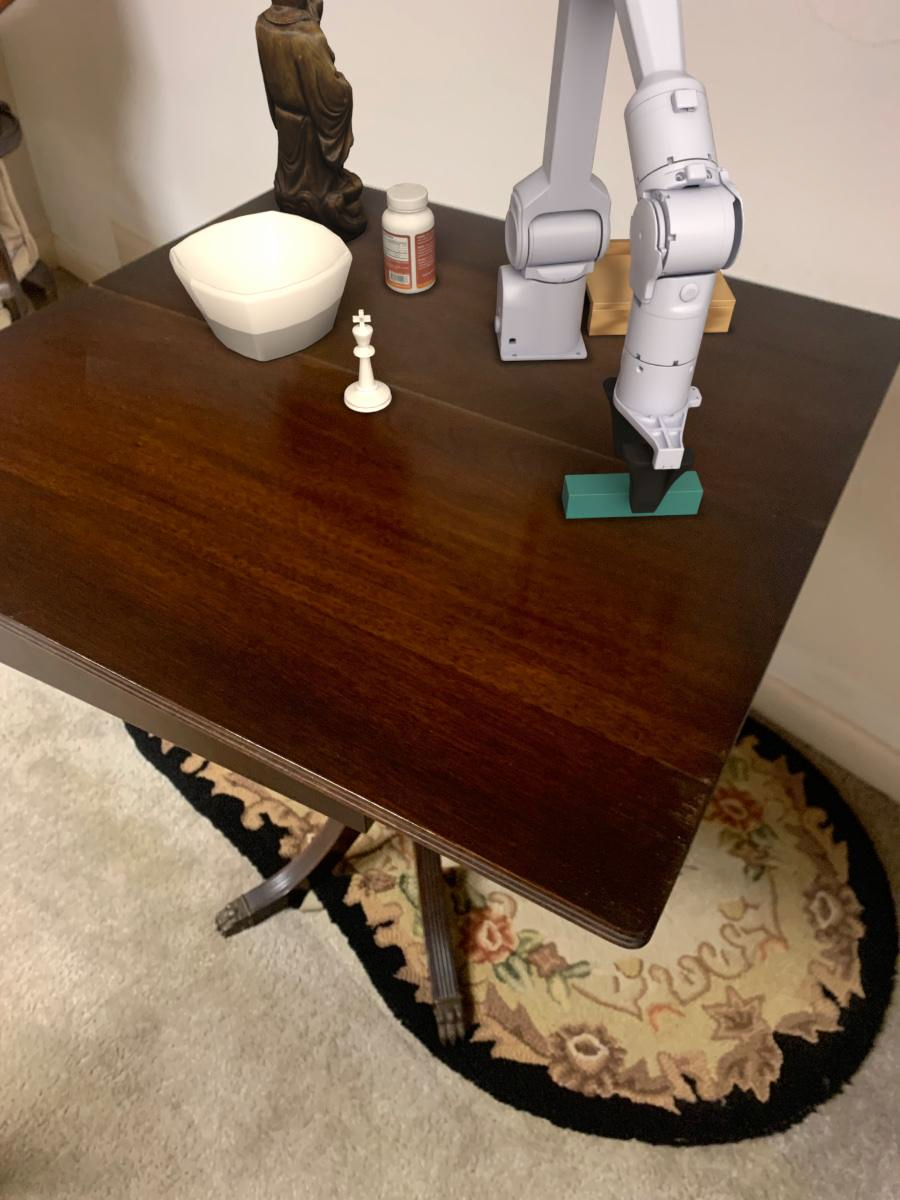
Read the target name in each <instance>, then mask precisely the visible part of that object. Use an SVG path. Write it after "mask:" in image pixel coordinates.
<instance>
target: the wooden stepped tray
mask: <svg viewBox="0 0 900 1200" xmlns="http://www.w3.org/2000/svg"><path fill="white" fill-rule="evenodd" d="M630 263H631V251H630V238H610V243H609V247H608V250H607V252H606V254H605V255H604V257H603V259H602V260H601V261H600V262H594V269H593V272H592V273H587V280H586V288H585V291H586V293H587V297H588V299H589V303H590V304H589V311H588V318H587V327H586V330H587V334H588V336H623V335H624V336H626V332H627V326H628V320H629V314H630V308H631V303H632V297H633V290H632V289H631V287H630V285H629V270H630ZM716 273H717V278H716V282H715V286H714V290H713V294H712V299H711V303H710V306H709V311H708V315H707V319H706V323H705V328H704V332H703V334H704V333H728V331H729V328H730V324H731V321H732V317H733V312H734V309H735V305H736V301H737V300H736V298H735V295H734V294H733V291H732V290H731V288H730V285H729V284H728V283H727V281H726V279H725V277H724V275H723V274H722V271H721V269H720V270H719V271H716Z"/></svg>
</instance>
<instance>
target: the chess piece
mask: <svg viewBox="0 0 900 1200" xmlns="http://www.w3.org/2000/svg"><path fill="white" fill-rule="evenodd" d="M352 322H353V323H359V324H356V325H354V326H353V328H352V330H351V331H352V335H353V337H354V338H355V341H356V344H357V345H356V346H355V347H354V348H353V354H354V356H355V357H357V358H359V369H358V381H355V382H353V383H350V385H348V386H347V387H346V389H345V391H344V392H343V393H344V394H343V395H344V397H343V402H344V404H345V405H346V407H348V408H349V409H351V410H353V411H355V412H360V413H373V412H378V411H380V410H383V409H385V408H386V407H387V406H389V405H390V404H391V401H392V394H391V389H390V388H389V386H388V385H387V384H386V383H384V382H382V381H380V380H376V379H375V377H374V372H373V368H372V363H371V358H370V357H372V356H374V355H375V353H376V350H375V347H374V346H373V345H371V344H370V343H371V340H372V339H371V338H372V337H373V336H372V335H373V332H374V329H373V327H372V326H371V325H370V324H368V323H370V322H372V321H371V315H370V314H365V315H364V309H358V315H352Z"/></svg>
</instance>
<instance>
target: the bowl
mask: <svg viewBox="0 0 900 1200" xmlns="http://www.w3.org/2000/svg"><path fill="white" fill-rule="evenodd" d="M168 256H169V261H170V263H171V267H172V268H173V271H174V273H175V275H176V276H177V278H178V279H179V281H180V282H181V284H182V285H183V287H184V289H185V291H186V292H187V294H188V295H189V297H190V298H191V300H192V301H193V303H194V305H195V307H197V309H198V311H199V312H200V313H201V315H202V317H203V318H204V320H205V322H206V323H207V325H208V326H209V328H210V329H211V331H212V332H213V334H214V336H215V337H216V338H217V339H218V341H220V342H221V343H222V344H223V345H224V346H225V348H227V349H230V350H231V351H233V352H236V353H237V354H240V355H242V356H244V357H246V358H249V359H253V360H256V361H258V362H269V361H271V360H272V361H273V360H275V359H279V358H283V357H286V356H289V355H292V354H295V353H297V352H300V351H303V350H305V349H307V348H308V347H310V346H312V345H313V344H315V343H316V342H318V341H320V340H321V339H323V338H324V337H325V336H326V335H328V334H329V333H330V332H331V331H332V330H333V328H334V324H335V321H336V318H337V314H338V310H339V307H340V303H341V299H342V296H343V293H344V291H345V286H346V283H347V280H348V276H349V273H350V270H351V269H350V268H351V265H352V262H353V255H352V252H351V251H350V249H349V247H348V246H347V245H346V244H345V241H344V242H343V241H342V240H341V238H340V237H339V236H337V235H336V234H334V233H333V232H332V231H330V230H329V229H327V228H326V227H324V226H323V225H321V224H318V223H315V222H313V221H310V220H308V219H305V218H302V217H300V216H296V215H291V214H287V213H282V212H281V211H276V210H267V211H262V212H256V213H251V214H246V215H240V216H236V217H234V218H230V219H227V220H223V221H221V222H216V223H213V224H211V225H208V226H207V227H204V228H203V229H200V230H199V231H197V232H194V233H192V234H190V235H188V236H187V237H185V238H184V239H182V241H180V242H179V243H177V244H176V245H174V246H173V247H172V248H170V250H169V254H168Z"/></svg>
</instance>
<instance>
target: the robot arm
mask: <svg viewBox="0 0 900 1200" xmlns="http://www.w3.org/2000/svg"><path fill="white" fill-rule="evenodd" d="M616 16H617V17H616ZM615 18H617V20H618V21H617V22H618V25H619V28H620V29H619V30H620V32H621V37H622V41H623V45H624V49H625V52H626V57H627V60H628V64H629V69H630V72H631V77H632V81H633V84H634V89H635V91H634V92H633V94H632V95H631V97H630V99H629V100H628V102H627V104H626V105H625V108H624V110H623V111H624V112H623V119H624V125H625V131H626V138H627V144H628V145H627V146H628V151H629V156H630V163H631V171H632V175H633V176H632V177H633V182H634V188H635V196H636V201H637V203H636V205H635V207H634V209H633V213H632V215H630V219H629V239H630V251H631V263H630V270H629V285H630V287H631V289H632V290H633V297H632V303H631V308H630V314H629V320H628V326H627V332H626V335H625V338H624V343H623V344H624V345H623V346H622V351H621V356H620V357H621V358H620V364H619V366H620V368H619V372H618V376H611V377H607V378H605V379H604V380H603V381H602V388H603V391H604V393H605V396H606V398H607V401H608V404H609V409H610V416H611V431H612V433H611V435H612V447H613V454H614V456H615V458H624V460H625V464H626V466H627V468H628V473H629V478H630V484H629V503H630V508H631V512H632V513H633V514H635V513H654V512H655V511H656V510H657V508H658V506H659V505H660V503H661V501H662V500H663V498H664V496H665V495H666V493H667V492H668V490H669V489H670V487H671V486H672V485H673V483H674V482H675V481H676V480H677V479H678V478H679V477H680V476H681V475H682V474H684V473H685V472H686V471H690V470H691V469H692V468H693V466H694V464H695V460H696V456H695V453H694V450H693V448H692V446H691V445H688V446H684V443H683V435H684V429H685V424H686V420H687V416H688V415H687V414H688V410H689V409H690V408H698V407H700V406H701V405H702V399H703V397H702V395H701V391H700V390H699V388H698V387H696V386H693V385H692V381H693V378H694V374H695V369H696V366H697V365H696V364H697V362H698V361H697V360H698V356H699V352H700V348H701V344H702V341H703V340H702V339H703V336H704V333H703V332H704V328H705V323H706V319H707V315H708V311H709V306H710V303H711V299H712V294H713V290H714V286H715V282H716V278H717V273H716V271H719V270H720V271H721V270H724V271H725V270H728V269H730V268H731V267H732V266H734V264H735V263H736V261H737V259H738V258H739V255H740V252H741V249H742V245H743V243H744V242H743V241H744V235H745V212H744V200H743V197H742V194H741V192H740V189H739V188H738V185H736V184H735V183H734V182H733V181H732V180H731V177H730V173H729V169H728V170H727V167H721V166H719V162H718V156H717V149H716V144H715V138H714V137H715V136H714V132H713V125H712V119H711V113H710V106H709V100H708V94H707V89H706V87H705V85H704V83H703V82H701V80H699V79H698V78H696V77H694V76H693V75H690V74H688V73H687V62H686V61H687V60H686V49H685V47H686V46H685V33H684V22H683V21H684V19H683V7H682V0H558V6H557V16H556V26H555V34H554V35H555V36H554V45H553V55H552V63H551V64H552V65H551V75H550V84H549V94H548V104H547V113H546V124H545V133H544V143H543V153H542V161H541V166H539V167H538V168H537V169H535V170H534V171H532V172H531V173H529V174H527V176H525V177H523V178H522V179H521V180H519V181H518V182H517V183H515V184H514V185H513V186H512V192H511V194H510V200H509V206H508V209H507V212H506V215H505V220H504V245H505V250H506V255H507V260H508V262H509V264H503V265H500V266H498V272H497V273H498V274H497V287H496V309H495V311H496V312H495V316H494V333H495V334H496V338H497V345H498V350H499V357H500V360H501V361H504V362H511V361H512V362H514V361H554V360H585V359H586V358H587V356H588V352H587V349H586V345H585V342H584V339H583V335H582V331H581V326H582V319H583V312H584V311H583V310H584V304H585V296H586V295H585V294H586V289H585V288H586V280H587V273H592V272H593V269H594V262H600V261H601V260H602V259H603V257H604V255H605V254H606V252H607V250H608V247H609V243H610V239H611V232H612V231H611V230H612V229H611V227H612V226H611V209H612V199H611V195H610V193H609V189H608V188H607V186H606V184H605V183H604V182H603V179H601V178H600V177H598V176H597V175H596V174H594V173H593V169H594V160H595V155H596V148H597V141H598V136H599V135H598V134H599V127H600V119H601V113H602V108H603V100H604V93H605V86H606V81H607V73H608V67H609V66H608V65H609V60H610V52H611V45H612V39H613V32H614V26H615ZM645 441H646V442H647V443H646V442H645Z"/></svg>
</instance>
